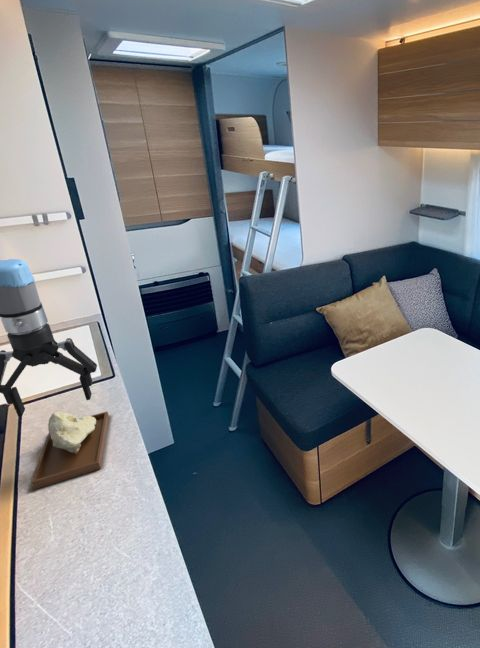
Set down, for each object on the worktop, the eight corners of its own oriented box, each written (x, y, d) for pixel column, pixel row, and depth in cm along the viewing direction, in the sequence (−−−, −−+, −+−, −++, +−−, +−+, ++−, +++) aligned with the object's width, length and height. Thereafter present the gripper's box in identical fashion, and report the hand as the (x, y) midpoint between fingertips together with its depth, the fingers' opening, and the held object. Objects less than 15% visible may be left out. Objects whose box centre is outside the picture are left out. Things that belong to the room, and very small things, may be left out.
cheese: (68, 432, 114) (14, 434, 99) (84, 408, 115) (33, 407, 101) (105, 462, 109) (53, 470, 95) (121, 437, 110) (73, 441, 96)
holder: (34, 489, 94) (31, 482, 93) (53, 432, 112) (51, 426, 111) (100, 468, 100) (98, 462, 99) (109, 417, 117) (107, 411, 116)
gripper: (-53, 348, 84) (-15, 429, 92) (91, 323, 94) (113, 399, 102) (-38, 332, 90) (-4, 410, 98) (95, 310, 100) (116, 383, 108)
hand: (56, 404), depth 100 cm, fingers open, 13 cm apart
